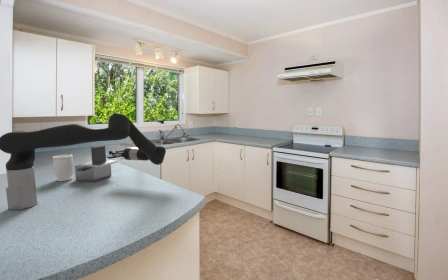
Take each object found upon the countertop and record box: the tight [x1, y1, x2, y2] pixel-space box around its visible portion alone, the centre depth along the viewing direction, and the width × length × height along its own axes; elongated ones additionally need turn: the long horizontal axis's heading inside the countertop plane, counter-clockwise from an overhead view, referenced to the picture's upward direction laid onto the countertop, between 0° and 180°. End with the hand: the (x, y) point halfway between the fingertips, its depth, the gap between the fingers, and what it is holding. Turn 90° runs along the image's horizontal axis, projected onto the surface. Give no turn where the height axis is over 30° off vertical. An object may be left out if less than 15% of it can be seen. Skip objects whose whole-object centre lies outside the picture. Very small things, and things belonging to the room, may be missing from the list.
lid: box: [81, 145, 118, 167], centre depth 147 cm, size 14×14×11 cm
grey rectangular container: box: [74, 163, 112, 183], centre depth 150 cm, size 20×14×9 cm
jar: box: [52, 153, 75, 182], centre depth 146 cm, size 11×10×15 cm
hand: (109, 152), depth 145 cm, fingers closed
